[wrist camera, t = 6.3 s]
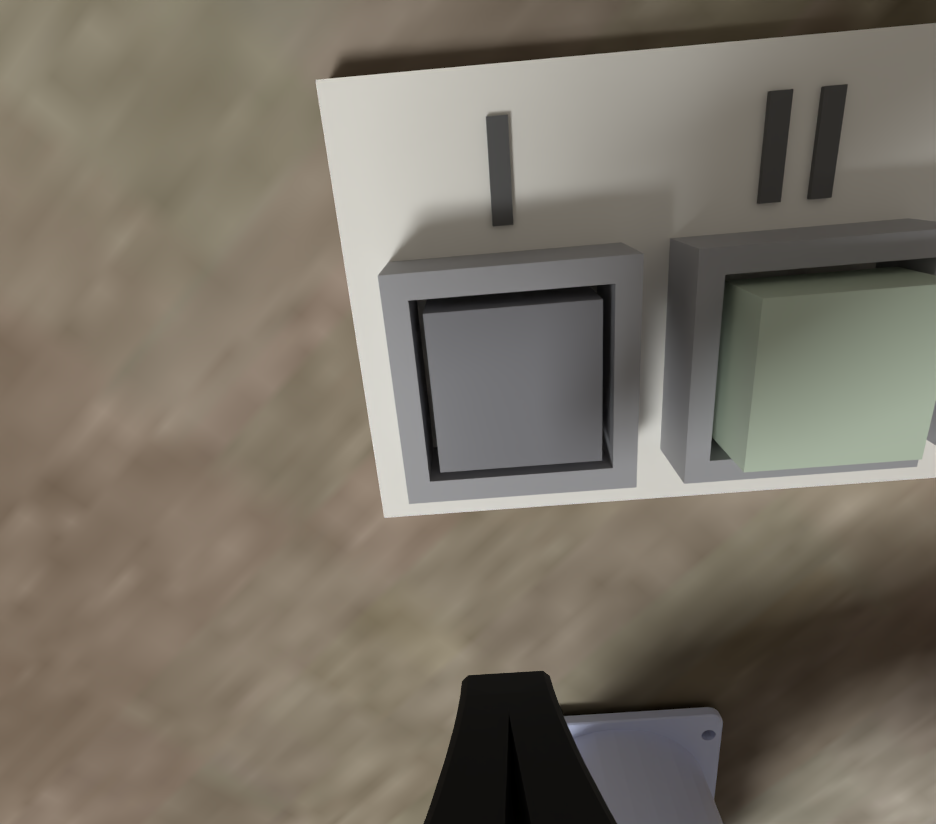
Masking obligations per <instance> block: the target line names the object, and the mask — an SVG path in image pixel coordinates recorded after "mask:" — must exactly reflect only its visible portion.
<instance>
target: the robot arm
mask: <svg viewBox="0 0 936 824" xmlns="http://www.w3.org/2000/svg"><path fill="white" fill-rule="evenodd" d="M722 727H723V721H722V718H721V716H720V714H719V712H718V711H717V710H716V709H714V708H711V707H700V708H684V709H669V710H653V711H637V712H622V713H606V714H591V715H575V716H563V713H562V711H561V708H560V706H559V703H558V700H557V698H556V695H555V692H554V689H553V686H552V682H551V679H550V676H549V675H548V674H546V673H545V672H544V671H533V672H516V673H500V674H483V675H468V676H467V677H466V678H465V679H464V680H463V681H462V686H461V695H460V701H459V706H458V711H457V716H456V720H455V725H454V729H453V733H452V736H451V740H450V744H449V747H448V751H447V755H446V758H445V761H444V764H443V768H442V771H441V774H440V777H439V780H438V783H437V786H436V789H435V792H434V796H433V799H432V802H431V805H430V808H429V810H428V813H427V816H426V819H425V821H424V824H723V822H722V819H721V817H720V814H719V812H718V809H717V807H716V804H715V801H714V797H715V788H716V779H717V771H718V762H719V753H720V744H721V736H722Z"/></svg>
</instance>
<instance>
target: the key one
mask: <svg viewBox="0 0 936 824" xmlns="http://www.w3.org/2000/svg"><path fill="white" fill-rule="evenodd" d="M423 321H424V330H425V339H426V348H427V357H428V366H429V375H430V384H431V393H432V402H433V411H434V420H435V429H436V438H437V447H438V455H439V464H440V473H441V472H455V471H468V470H482V469H495V468H508V467H522V466H535V465H549V464H562V463H575V462H589V461H602V383H603V299H602V298H601V297H600V296H599V295H598V294H597V293H596V292H595V291H594V290H593V289H592V288H591V287H590V286H581V287H569V288H556V289H544V290H532V291H520V292H508V293H496V294H483V295H471V296H459V297H447V298H435V299H427V300H426V304H425V308H424V311H423Z"/></svg>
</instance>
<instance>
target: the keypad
mask: <svg viewBox="0 0 936 824" xmlns="http://www.w3.org/2000/svg"><path fill="white" fill-rule="evenodd" d="M316 87H317V93H318V99H319V106H320V112H321V119H322V125H323V131H324V138H325V144H326V150H327V157H328V163H329V169H330V176H331V182H332V188H333V195H334V201H335V207H336V214H337V220H338V226H339V233H340V239H341V246H342V252H343V258H344V265H345V271H346V277H347V284H348V290H349V296H350V303H351V309H352V315H353V322H354V328H355V334H356V341H357V347H358V353H359V360H360V366H361V373H362V379H363V385H364V392H365V398H366V404H367V411H368V417H369V423H370V430H371V436H372V442H373V449H374V455H375V461H376V468H377V474H378V480H379V487H380V493H381V500H382V506H383V512H384V518H387V517H401V516H415V515H429V514H442V513H456V512H470V511H483V510H497V509H511V508H525V507H538V506H552V505H566V504H580V503H593V502H607V501H621V500H634V499H648V498H662V497H676V496H689V495H703V494H717V493H730V492H744V491H758V490H772V489H785V488H799V487H813V486H826V485H840V484H854V483H868V482H881V481H895V480H909V479H923V478H936V402H935V406H934V410H933V415H932V419H931V423H930V427H929V431H928V436H927V440H926V444H925V448H924V453H923V457H922V459H920V460H906V461H893V462H879V463H866V464H852V465H839V466H825V467H811V468H798V469H784V470H771V471H757V472H743V471H742V470H741V469H740V468H739V467H738V465H737V464H736V463H735V462H734V461H733V460H732V459H731V458H730V457H729V455H728V454H727V453H726V452H725V451H724V450H723V449H722V448H721V447H720V446H719V444H718V443H717V442H716V441H715V440H714V439H713V438H712V428H713V416H714V404H715V392H716V380H717V368H718V356H719V344H720V332H721V320H722V308H723V296H724V284H725V281H726V280H738V279H750V278H762V277H774V276H787V275H799V274H811V273H823V272H836V271H848V270H860V269H872V268H884V267H901V268H906V269H910V270H914V271H918V272H923V273H927V274H931V275H935V276H936V23H929V24H918V25H907V26H897V27H886V28H875V29H864V30H853V31H842V32H831V33H820V34H809V35H799V36H788V37H777V38H766V39H755V40H744V41H733V42H722V43H711V44H701V45H690V46H679V47H668V48H657V49H646V50H635V51H624V52H613V53H603V54H592V55H581V56H570V57H559V58H548V59H537V60H526V61H515V62H505V63H494V64H483V65H472V66H461V67H450V68H439V69H428V70H417V71H407V72H396V73H385V74H374V75H363V76H352V77H341V78H330V79H319V80H316ZM581 286H590V287H591V288H592V289H593V290H594V291H595V292H596V293H597V294H598V295H599V296H600V297H601V298H602V299H603V383H602V461H589V462H575V463H562V464H549V465H535V466H522V467H508V468H495V469H482V470H468V471H455V472H441V473H440V464H439V455H438V447H437V438H436V429H435V420H434V411H433V402H432V393H431V384H430V375H429V366H428V357H427V348H426V339H425V330H424V321H423V311H424V308H425V304H426V300H427V299H435V298H447V297H459V296H471V295H483V294H496V293H508V292H520V291H532V290H544V289H556V288H569V287H581Z"/></svg>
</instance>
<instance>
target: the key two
mask: <svg viewBox="0 0 936 824" xmlns="http://www.w3.org/2000/svg"><path fill="white" fill-rule="evenodd" d="M935 402H936V276H935V275H931V274H927V273H923V272H918V271H914V270H910V269H906V268H901V267H884V268H872V269H860V270H848V271H836V272H823V273H811V274H799V275H787V276H774V277H762V278H750V279H738V280H726V281H725V284H724V296H723V308H722V320H721V332H720V344H719V356H718V368H717V380H716V392H715V404H714V416H713V428H712V438H713V439H714V440H715V441H716V442H717V443H718V444H719V446H720V447H721V448H722V449H723V450H724V451H725V452H726V453H727V454H728V455H729V457H730V458H731V459H732V460H733V461H734V462H735V463H736V464H737V465H738V467H739V468H740V469H741V470H742V471H743V472H757V471H771V470H784V469H798V468H811V467H825V466H839V465H852V464H866V463H879V462H893V461H906V460H920V459H922V457H923V453H924V448H925V444H926V440H927V436H928V431H929V427H930V423H931V419H932V415H933V410H934V406H935Z"/></svg>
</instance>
